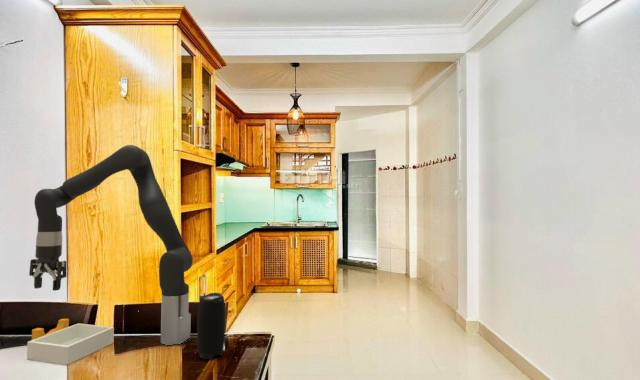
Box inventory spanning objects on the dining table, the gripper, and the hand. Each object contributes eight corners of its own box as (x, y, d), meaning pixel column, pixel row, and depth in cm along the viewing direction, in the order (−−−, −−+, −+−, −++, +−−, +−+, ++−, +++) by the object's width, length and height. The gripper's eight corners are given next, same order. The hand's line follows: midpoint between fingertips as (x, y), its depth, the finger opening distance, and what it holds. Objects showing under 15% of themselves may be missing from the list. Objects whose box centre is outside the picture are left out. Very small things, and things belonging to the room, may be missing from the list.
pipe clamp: (58, 335, 135) (59, 318, 135) (68, 336, 134) (68, 319, 134) (27, 348, 123) (27, 329, 123) (37, 349, 122) (38, 330, 122)
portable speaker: (192, 360, 114) (193, 299, 114) (203, 348, 123) (204, 291, 124) (219, 361, 113) (220, 299, 114) (227, 349, 123) (228, 292, 123)
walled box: (113, 342, 128) (113, 327, 128) (66, 365, 110) (67, 347, 110) (77, 338, 132) (78, 323, 132) (26, 359, 114) (27, 341, 114)
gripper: (74, 243, 131) (72, 288, 130) (44, 241, 134) (42, 285, 134) (54, 246, 123) (52, 293, 123) (23, 244, 127) (21, 289, 126)
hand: (47, 289), depth 128 cm, fingers open, 8 cm apart
